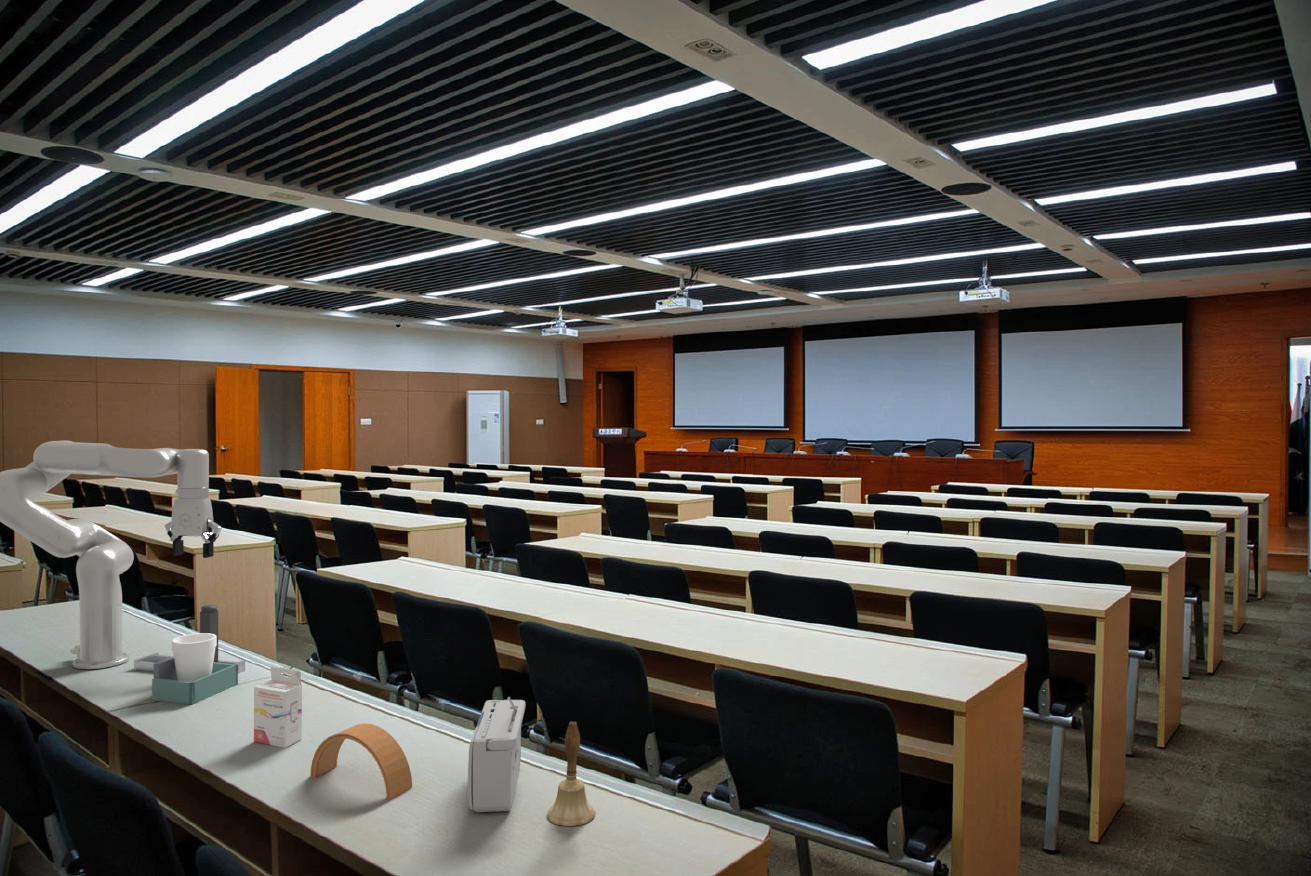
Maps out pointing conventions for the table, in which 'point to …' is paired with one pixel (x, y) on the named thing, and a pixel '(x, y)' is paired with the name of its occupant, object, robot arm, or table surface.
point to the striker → (207, 625)
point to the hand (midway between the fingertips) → (193, 556)
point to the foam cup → (194, 655)
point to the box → (196, 685)
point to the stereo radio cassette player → (495, 756)
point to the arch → (379, 747)
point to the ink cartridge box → (278, 709)
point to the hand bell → (571, 788)
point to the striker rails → (148, 661)
